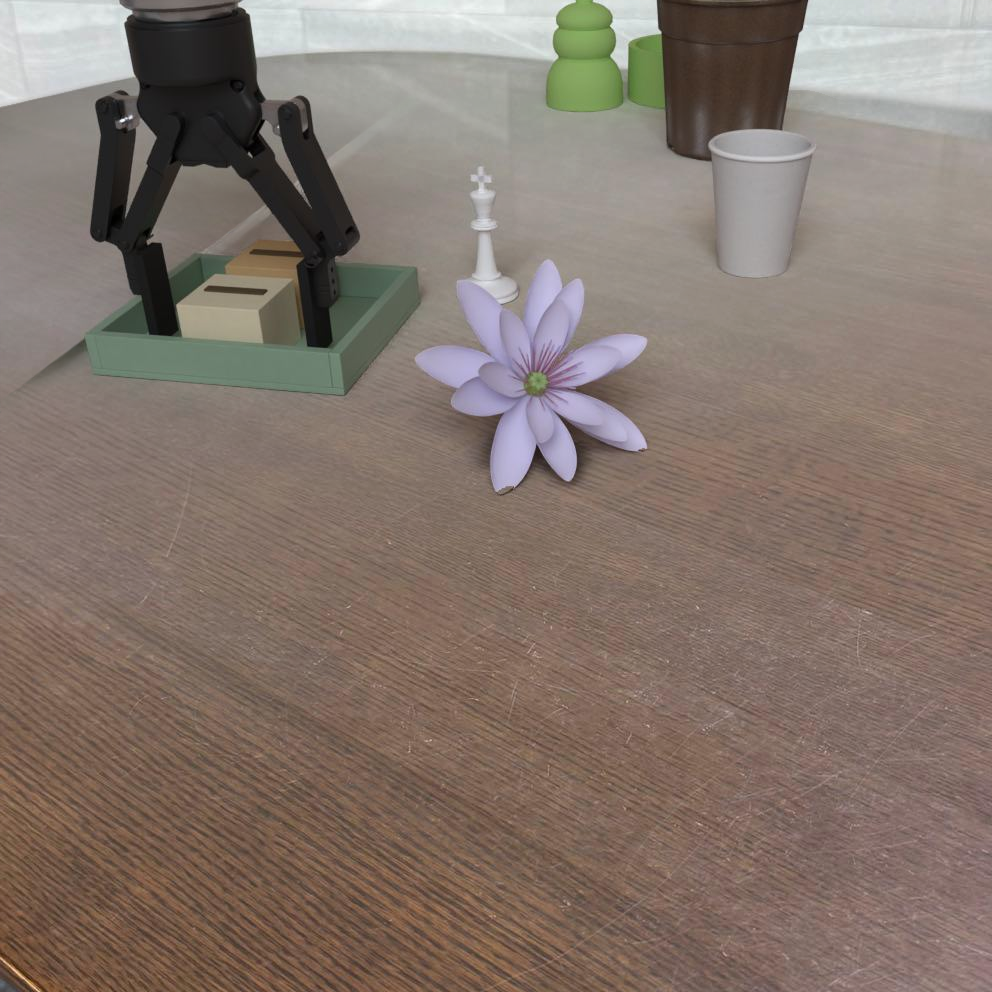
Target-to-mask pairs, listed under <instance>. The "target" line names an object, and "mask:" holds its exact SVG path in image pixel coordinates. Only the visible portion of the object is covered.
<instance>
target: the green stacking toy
mask: <svg viewBox="0 0 992 992" xmlns="http://www.w3.org/2000/svg"><path fill="white" fill-rule="evenodd" d="M613 19H614V17H613V14H612V12H611V10H610V9H609V8H607V7H606V6H605V5H604V4H601V3H598V2H595V1H594V0H575V2H571V3H568V4H566V5H565V6H563V7H562V8H561V9H560V10H559V11H558V12H557V13H556V15H555V24H556V26H558V27H557V28H556V29H555V30H554V33H553V35H552V47H553V50H554V52H555V54H556V55H557V56H558V57H557V58H556V60H554V62H553V63H552V64H551V66H550V68H549V71H548V73H547V76H546V81H545V83H546V84H545V99H546V100H545V101H546V102H545V103H546V106H547V107H549V108H552V109H555V110H559V111H565V112H574V113H575V112H579V113H580V112H581V113H585V112H586V113H587V112H590V113H591V112H600V111H607V110H612V109H615V108H618V107H620V106H621V105H622V104H623V103H624V102H623V101H624V98H623V97H624V86H623V85H624V83H623V76H622V72H621V70H620V68H619V65H618V64H617V61H615V60H614V58H612V57H611V55H612V54H613V52H614V51H615V48H616V47H617V46H616V45H617V35H616V32H615V30H614V28H612V26H611V25H612V24H613V21H614V20H613ZM627 44H628V48H627V50H628V51H627V52H628V53H627V98H628V99H629V100H630V101H631V102H633V103H635V104H638V105H640V106H641V105H642V106H645V107H650V108H657V109H665V93H664V72H663V55H662V36H661V33H656V34H655V33H654V34H650V35H645V36H639V37H637V38H634V39H632V40H630V41H629V42H628V43H627Z"/></svg>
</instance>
